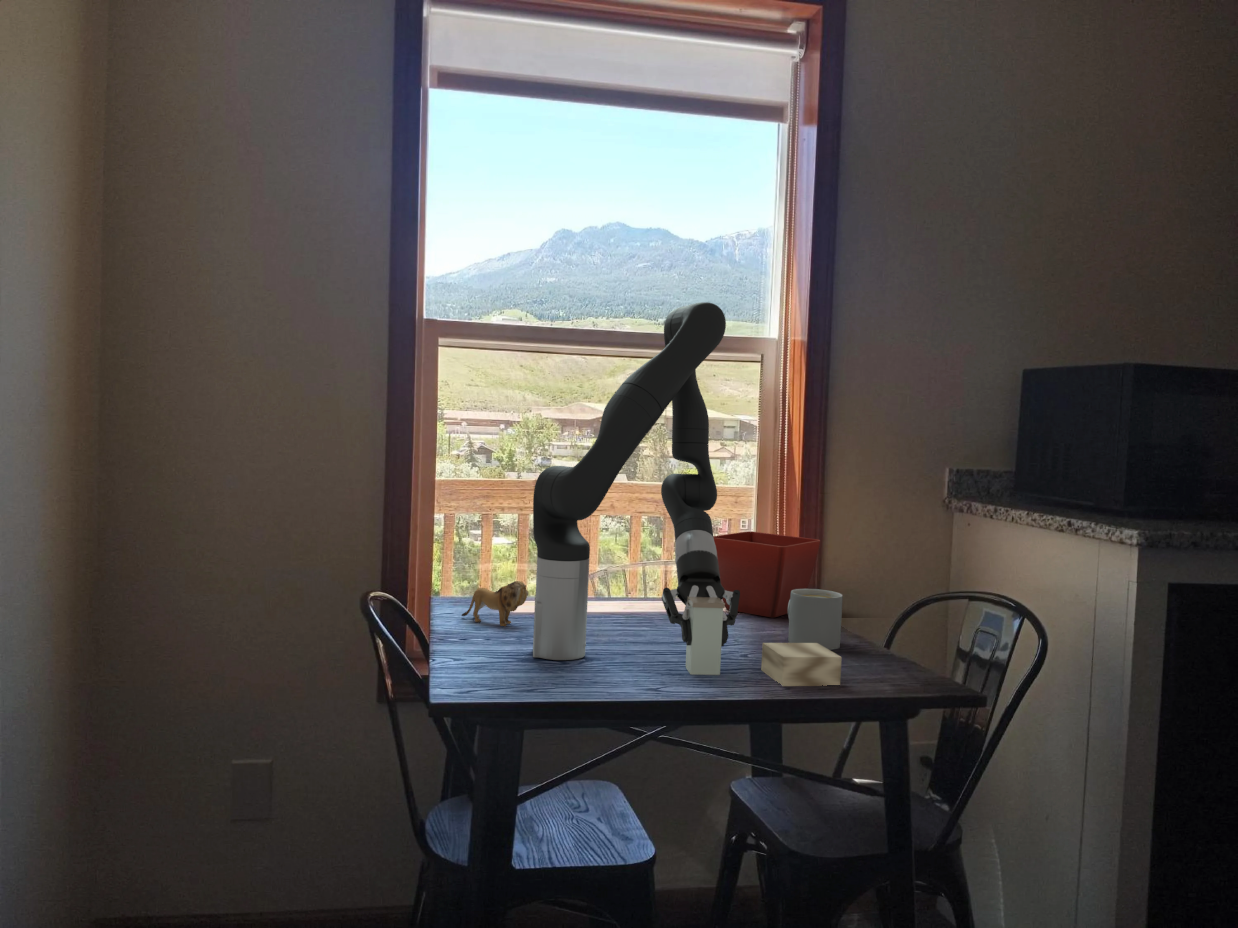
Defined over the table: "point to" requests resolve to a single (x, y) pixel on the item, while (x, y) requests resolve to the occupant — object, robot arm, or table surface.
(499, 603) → the lion figurine
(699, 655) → the sage canister
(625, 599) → the table surface
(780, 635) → the table surface
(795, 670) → the maple block
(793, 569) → the plant pot
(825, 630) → the coffee mug
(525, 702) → the table surface
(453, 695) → the table surface
